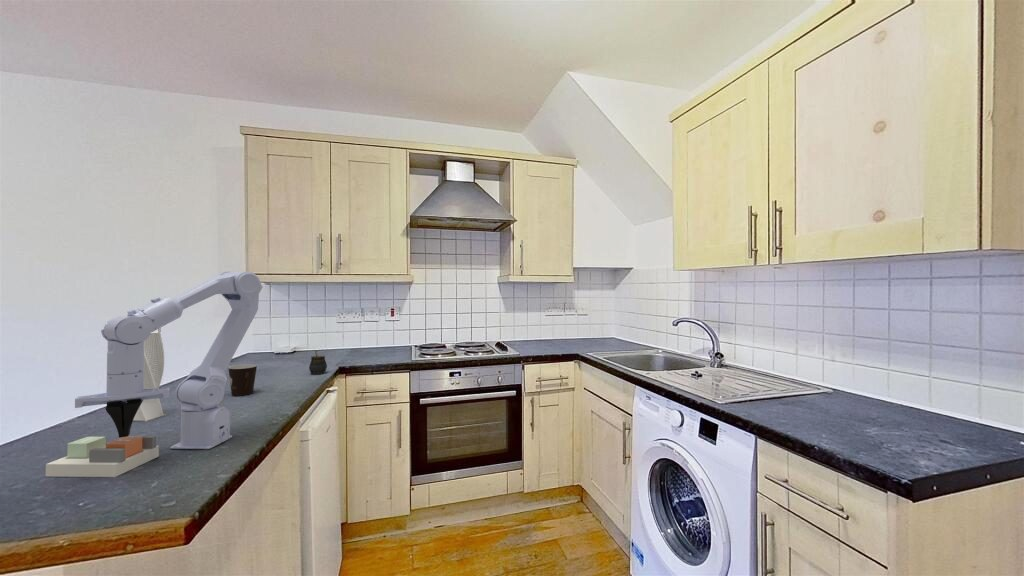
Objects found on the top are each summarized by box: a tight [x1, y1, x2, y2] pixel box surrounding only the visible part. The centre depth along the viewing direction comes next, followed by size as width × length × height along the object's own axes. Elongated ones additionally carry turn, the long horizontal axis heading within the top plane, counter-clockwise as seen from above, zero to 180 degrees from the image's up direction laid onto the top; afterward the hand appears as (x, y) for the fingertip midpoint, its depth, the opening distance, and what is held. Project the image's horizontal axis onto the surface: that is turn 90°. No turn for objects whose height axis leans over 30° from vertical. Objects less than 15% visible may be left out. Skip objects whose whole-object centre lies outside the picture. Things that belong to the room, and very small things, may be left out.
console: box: [45, 435, 160, 478], centre depth 86 cm, size 14×10×5 cm
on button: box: [66, 436, 107, 459], centre depth 86 cm, size 4×4×3 cm
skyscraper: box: [133, 327, 169, 423], centre depth 118 cm, size 8×8×28 cm
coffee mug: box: [227, 364, 258, 397], centre depth 144 cm, size 12×9×10 cm
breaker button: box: [106, 437, 142, 459], centre depth 86 cm, size 4×4×3 cm
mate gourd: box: [308, 350, 328, 376], centre depth 182 cm, size 7×8×10 cm
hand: (124, 435), depth 86 cm, fingers closed
